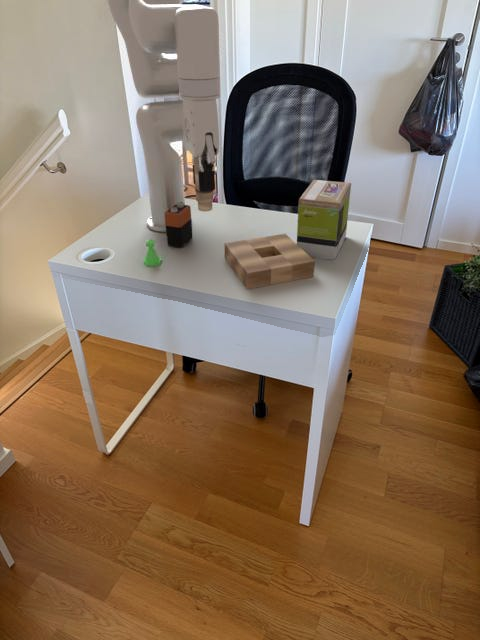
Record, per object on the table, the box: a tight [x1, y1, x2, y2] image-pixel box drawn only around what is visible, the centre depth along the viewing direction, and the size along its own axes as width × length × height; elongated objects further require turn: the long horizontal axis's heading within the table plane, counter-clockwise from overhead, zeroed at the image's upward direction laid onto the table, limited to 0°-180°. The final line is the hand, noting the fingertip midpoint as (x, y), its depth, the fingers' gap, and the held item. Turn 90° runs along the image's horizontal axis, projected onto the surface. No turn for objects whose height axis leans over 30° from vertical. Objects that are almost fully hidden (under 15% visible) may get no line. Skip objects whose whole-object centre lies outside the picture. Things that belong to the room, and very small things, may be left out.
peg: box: [193, 152, 215, 212], centre depth 94 cm, size 4×4×13 cm
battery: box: [164, 202, 193, 249], centre depth 118 cm, size 4×7×10 cm, turn 160°
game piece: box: [143, 239, 162, 267], centre depth 110 cm, size 4×4×6 cm
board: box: [223, 233, 316, 290], centre depth 108 cm, size 16×16×4 cm
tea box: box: [296, 179, 352, 261], centre depth 115 cm, size 15×10×15 cm, turn 159°
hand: (204, 186), depth 95 cm, fingers closed on peg, 3 cm apart
